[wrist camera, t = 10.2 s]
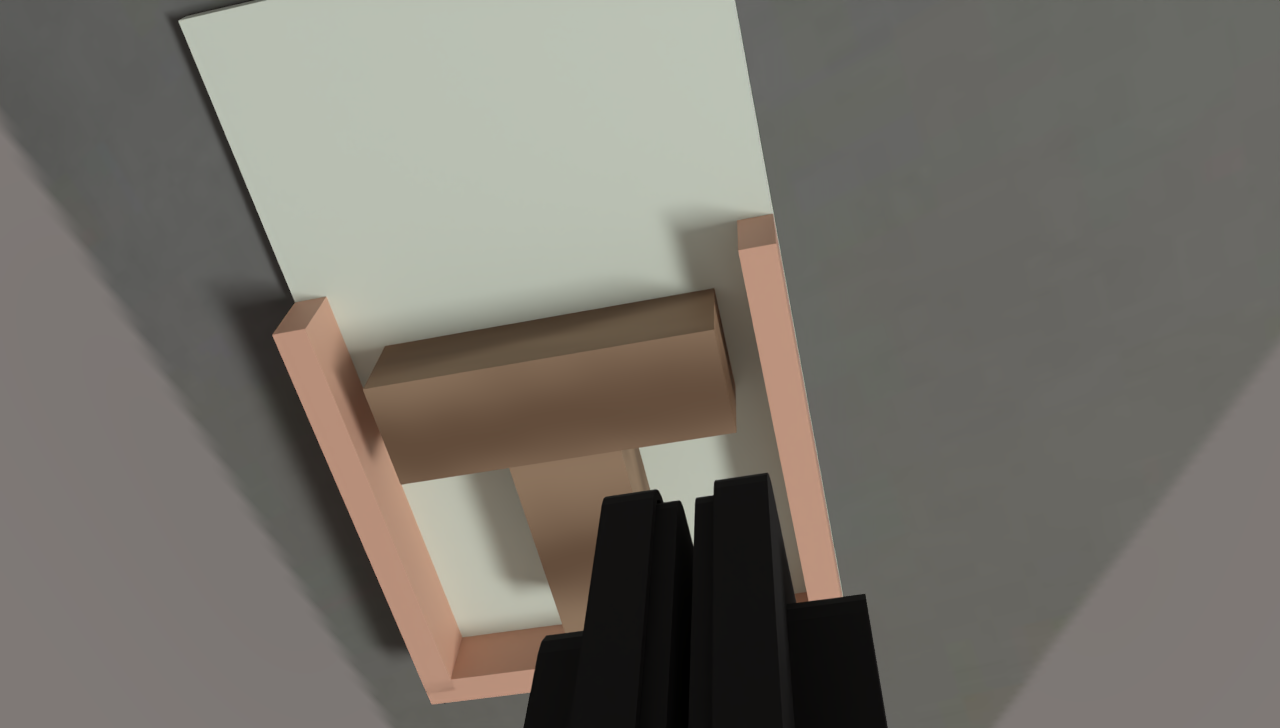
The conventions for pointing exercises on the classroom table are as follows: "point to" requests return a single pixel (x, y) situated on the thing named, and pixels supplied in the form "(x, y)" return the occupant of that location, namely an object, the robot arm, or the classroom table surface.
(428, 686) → the pocket
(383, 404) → the t block
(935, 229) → the classroom table surface
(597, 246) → the mat
